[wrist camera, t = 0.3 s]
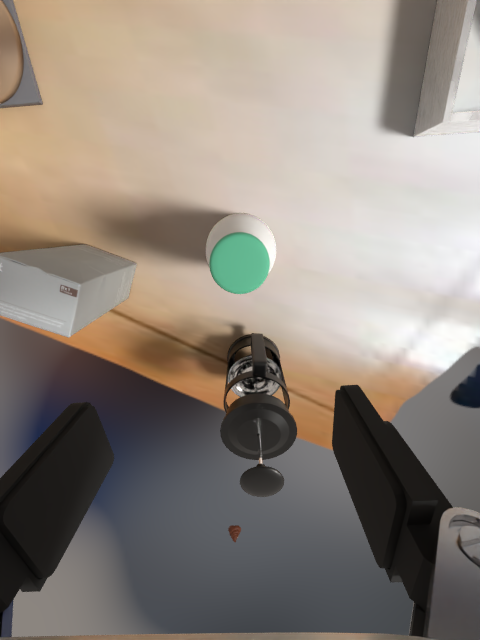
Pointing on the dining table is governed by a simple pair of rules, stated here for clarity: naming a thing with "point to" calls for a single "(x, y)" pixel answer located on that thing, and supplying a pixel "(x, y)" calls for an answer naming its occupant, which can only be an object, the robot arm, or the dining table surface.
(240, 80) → the dining table surface
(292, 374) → the dining table surface
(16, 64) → the lid
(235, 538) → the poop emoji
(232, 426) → the french press
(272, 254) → the milk bottle
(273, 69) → the dining table surface
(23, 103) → the mat
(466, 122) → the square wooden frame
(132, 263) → the skincare box
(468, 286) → the dining table surface
